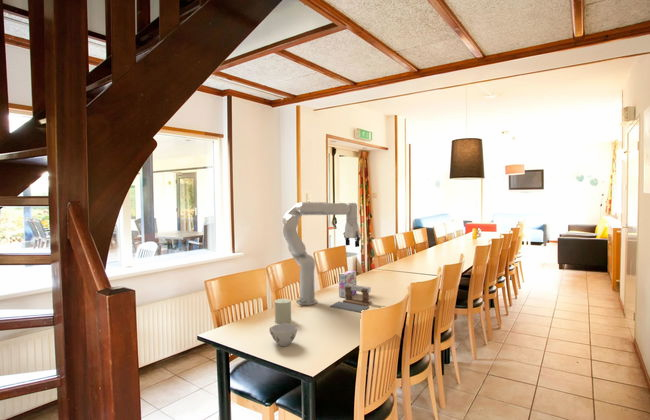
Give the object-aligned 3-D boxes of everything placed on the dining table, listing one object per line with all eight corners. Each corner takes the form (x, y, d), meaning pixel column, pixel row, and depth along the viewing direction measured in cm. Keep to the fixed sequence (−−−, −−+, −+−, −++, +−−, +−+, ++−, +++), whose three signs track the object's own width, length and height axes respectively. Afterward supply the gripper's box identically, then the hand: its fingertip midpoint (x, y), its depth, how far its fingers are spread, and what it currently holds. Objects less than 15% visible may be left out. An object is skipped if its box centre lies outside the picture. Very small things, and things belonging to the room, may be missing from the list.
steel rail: (368, 293, 228) (368, 288, 228) (344, 289, 238) (343, 284, 238) (370, 291, 231) (370, 287, 231) (346, 288, 241) (346, 283, 240)
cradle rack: (366, 306, 227) (366, 290, 226) (342, 302, 236) (342, 287, 236) (371, 303, 234) (371, 287, 233) (348, 299, 243) (348, 284, 242)
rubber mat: (360, 312, 215) (360, 311, 215) (329, 306, 227) (329, 305, 227) (368, 307, 224) (368, 306, 224) (338, 302, 236) (338, 301, 236)
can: (276, 324, 197) (275, 303, 197) (273, 319, 206) (273, 298, 206) (292, 322, 200) (292, 301, 199) (289, 317, 209) (289, 297, 208)
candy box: (346, 298, 245) (345, 274, 244) (338, 297, 249) (338, 273, 248) (356, 293, 256) (356, 270, 255) (349, 292, 260) (349, 269, 259)
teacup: (302, 341, 174) (302, 325, 174) (286, 351, 163) (286, 334, 163) (278, 335, 182) (277, 320, 181) (261, 344, 171) (261, 328, 171)
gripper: (339, 220, 250) (340, 245, 251) (356, 222, 236) (356, 248, 237) (347, 220, 254) (348, 244, 255) (364, 221, 241) (365, 246, 241)
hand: (352, 245), depth 246 cm, fingers open, 9 cm apart
